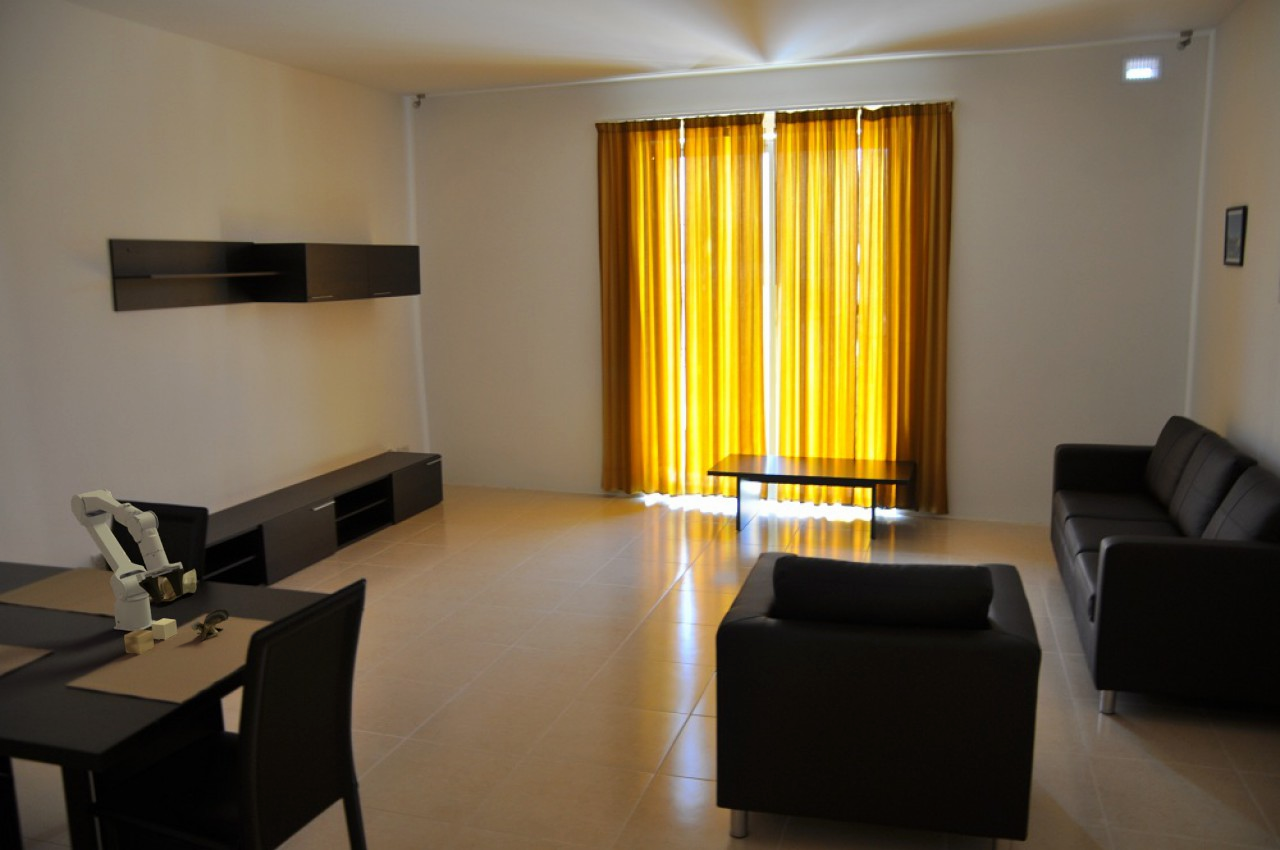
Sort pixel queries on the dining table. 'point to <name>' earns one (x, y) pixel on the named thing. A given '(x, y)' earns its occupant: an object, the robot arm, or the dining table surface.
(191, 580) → the ceramic sculpture
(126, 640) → the oak base block
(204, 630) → the eagle figurine
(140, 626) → the robot arm
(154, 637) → the cream block
